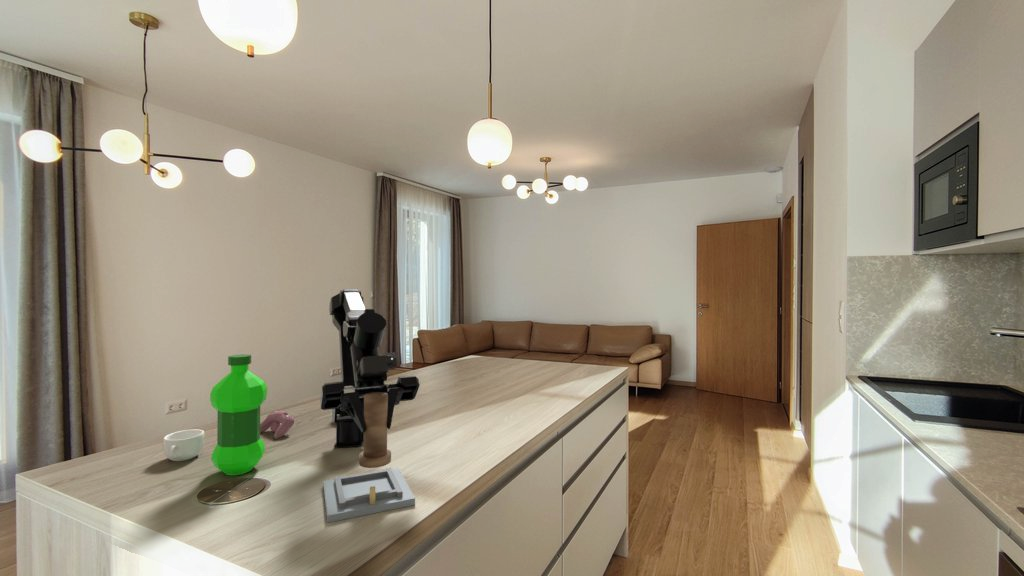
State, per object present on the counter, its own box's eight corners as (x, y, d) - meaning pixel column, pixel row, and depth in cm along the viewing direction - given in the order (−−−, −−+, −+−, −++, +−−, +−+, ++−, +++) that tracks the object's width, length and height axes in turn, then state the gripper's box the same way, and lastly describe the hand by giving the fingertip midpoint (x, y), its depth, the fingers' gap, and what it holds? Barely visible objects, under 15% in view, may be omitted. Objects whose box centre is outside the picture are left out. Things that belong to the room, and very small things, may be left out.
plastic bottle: (230, 460, 102) (231, 352, 102) (275, 461, 101) (276, 352, 101) (198, 479, 92) (199, 359, 92) (248, 480, 91) (249, 359, 91)
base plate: (323, 486, 89) (323, 465, 89) (398, 473, 96) (398, 454, 96) (327, 522, 76) (327, 498, 76) (415, 504, 82) (415, 482, 82)
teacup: (173, 452, 107) (174, 430, 107) (209, 450, 108) (210, 428, 108) (150, 469, 97) (150, 444, 97) (190, 466, 99) (190, 442, 99)
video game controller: (289, 441, 119) (300, 415, 122) (274, 438, 116) (286, 411, 118) (268, 435, 124) (279, 410, 127) (253, 431, 121) (265, 406, 124)
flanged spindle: (352, 465, 84) (353, 397, 84) (370, 454, 90) (370, 390, 90) (380, 469, 82) (381, 399, 82) (396, 457, 88) (397, 392, 88)
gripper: (322, 341, 85) (327, 414, 75) (417, 337, 94) (433, 401, 84) (318, 375, 92) (322, 445, 82) (407, 368, 101) (420, 430, 91)
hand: (376, 429), depth 85 cm, fingers closed on flanged spindle, 4 cm apart
